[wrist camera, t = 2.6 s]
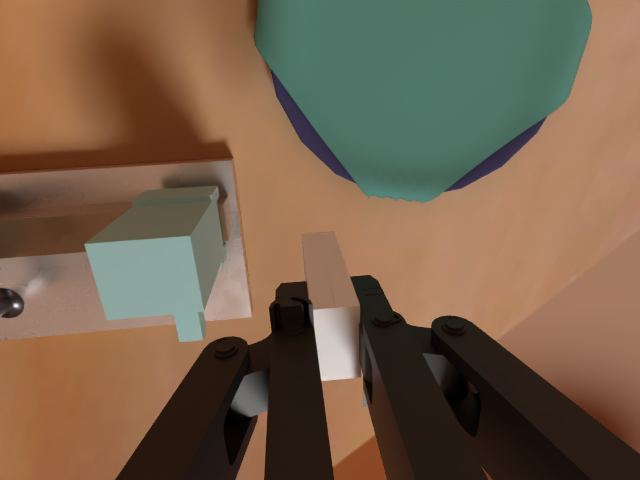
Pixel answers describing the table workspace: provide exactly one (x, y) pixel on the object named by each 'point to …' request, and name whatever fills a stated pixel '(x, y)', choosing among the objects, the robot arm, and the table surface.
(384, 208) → the table surface
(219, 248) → the block
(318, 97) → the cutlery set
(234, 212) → the base
